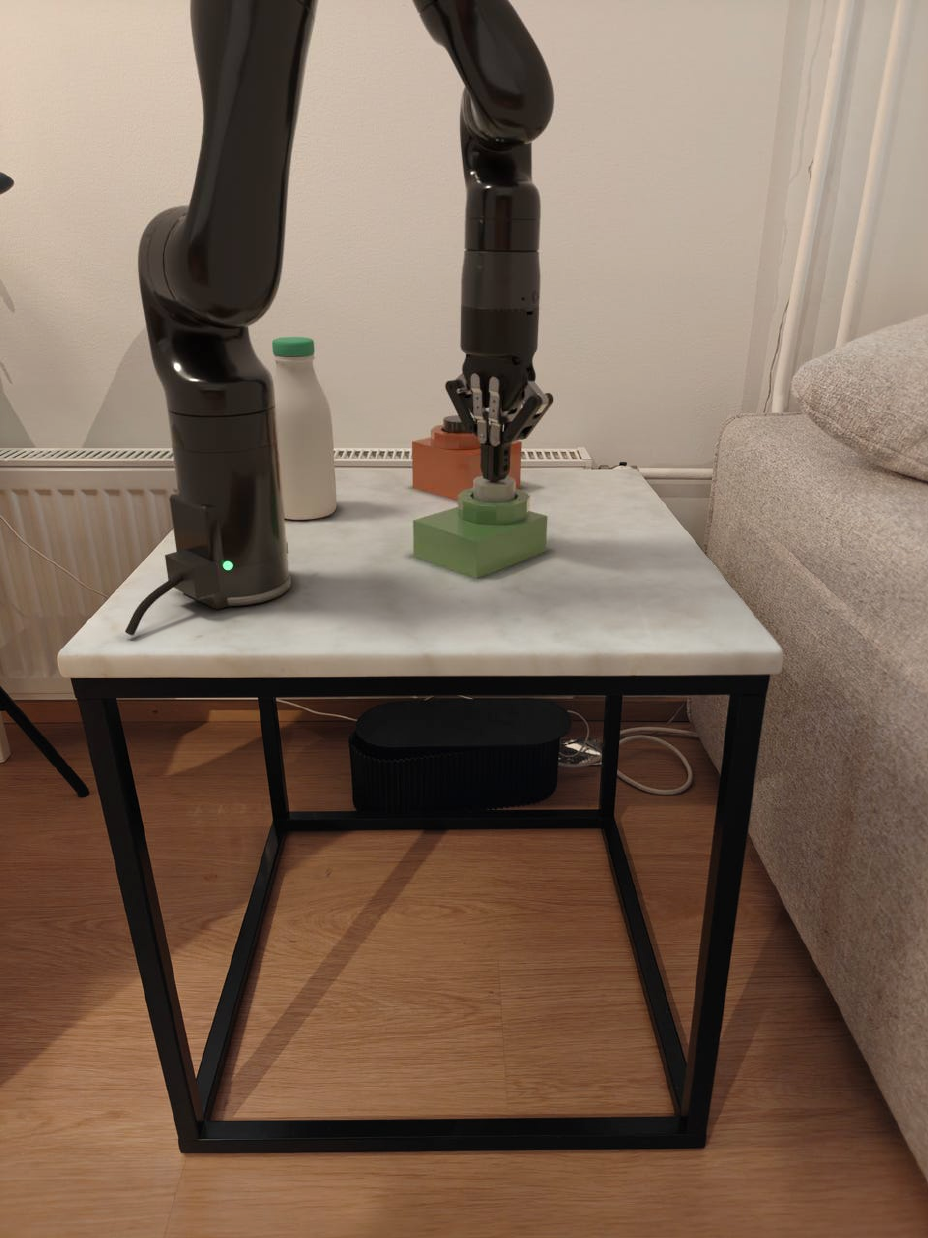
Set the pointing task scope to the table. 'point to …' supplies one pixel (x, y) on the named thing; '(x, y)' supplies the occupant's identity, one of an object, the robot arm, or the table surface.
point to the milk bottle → (303, 432)
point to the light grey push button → (494, 490)
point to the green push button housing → (481, 535)
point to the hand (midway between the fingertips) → (494, 478)
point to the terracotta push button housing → (453, 462)
